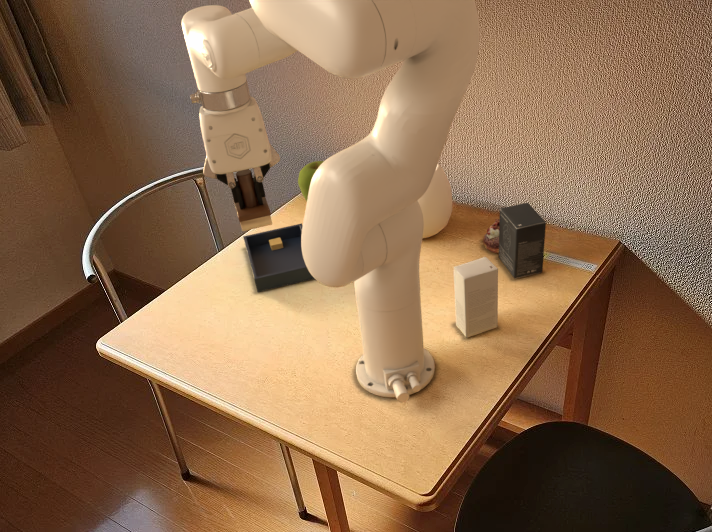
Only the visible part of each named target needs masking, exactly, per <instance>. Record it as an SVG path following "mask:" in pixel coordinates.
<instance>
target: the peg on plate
mask: <svg viewBox="0 0 712 532" xmlns="http://www.w3.org/2000/svg"><path fill="white" fill-rule="evenodd" d="M235 178H236V181H238V185H239V188H240V192H241V196H242V200H243V204H244V208H243V209H240V206H239V203H234V202H233V203H234V204H233V205H234V207H235V211H236V215H237V218H238V222H239V223H240V228H241V232H245V231H251V230H255V229H260V228H265V227H269V226H272V225H273V220H272V213H271V209H270V206H269V203H268V200H267V198H266V197H262V201H263V205H260V204H259V203H258V198H257V194H256V190H255V185H254V180H253V178H254V177H253V172H252V170H251V169H246V170H241V171H236V173H235ZM232 200H233V201H234V199H232Z"/></svg>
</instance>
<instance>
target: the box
mask: <svg viewBox="0 0 712 532" xmlns="http://www.w3.org/2000/svg"><path fill="white" fill-rule="evenodd" d="M499 220H500V221H499V253H498V259H499V260H500V262H501V263H502V264H503V266H504V267H505V268H506V270H507V271H508V272H509V273H510V275H511V276H512V278H513V279H520V278H524V277H525V278H526V277H529V276H532V275H533V276H534V275H537V274H541V273H542V272H543V265H544V254H545V243H546V242H545V241H546V227H547V222H546V221H545V219H544V218H543V217H542V216H541V215H540V214H539V213H538V212H537V211H536V209H535V208H534V207H533V206H531V204H530V203H529V202H525V203H523V202H522V203H518V204H515V205H510V206H505V207H501V208H499Z"/></svg>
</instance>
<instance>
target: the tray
mask: <svg viewBox="0 0 712 532" xmlns="http://www.w3.org/2000/svg"><path fill="white" fill-rule="evenodd" d="M302 227H303V222H302V223H297V224H293V225H288V226H284V227H279V228H274V229H270V230H266V231H261V232H257V233H253V234H247V235H243V236H242V238H243V242H244V246H245V250H246V254H247V258H248V262H249V265H250V269H251V272H252V277H253V280H254V284H255V288H256V292H257V293H260V292H265V291H269V290H274V289H277V288H281V287H287V286H290V285H291V286H292V285H294V284H295V285H296V284H299V283H303V282H307V281H312V280H316V279H315V278H314V277H313V276H312V275H311V274H310V272H309V270H308V269H307V267H306V264H305V262H304V259H303V255H302V248H301V235H302ZM279 237H280V238H281V241H282V243H283V248H281V249H277V250H273V251H272V249H271V247H270V243H269V240H271V239H275V238H279Z"/></svg>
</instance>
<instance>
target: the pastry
mask: <svg viewBox="0 0 712 532" xmlns="http://www.w3.org/2000/svg"><path fill="white" fill-rule="evenodd" d="M499 221H500V218H496V219H495V221H494V222H493V224H491V225H490V226H489V227H487V230H486V233H485V234H484V236H483V238H482V243H483V246H484V248H485V249H486V250H488V251H489V252H491V253H495V254H499Z"/></svg>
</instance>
